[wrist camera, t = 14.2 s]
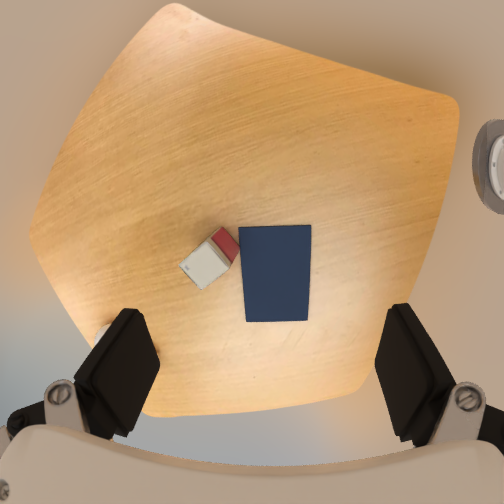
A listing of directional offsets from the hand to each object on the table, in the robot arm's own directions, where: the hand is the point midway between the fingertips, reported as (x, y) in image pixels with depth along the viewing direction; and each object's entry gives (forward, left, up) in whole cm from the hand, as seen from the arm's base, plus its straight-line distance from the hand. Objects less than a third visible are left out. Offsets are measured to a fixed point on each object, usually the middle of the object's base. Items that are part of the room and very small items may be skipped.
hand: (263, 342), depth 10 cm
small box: (+7, +8, -29) cm, 31 cm away
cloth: (-1, +13, -29) cm, 31 cm away
